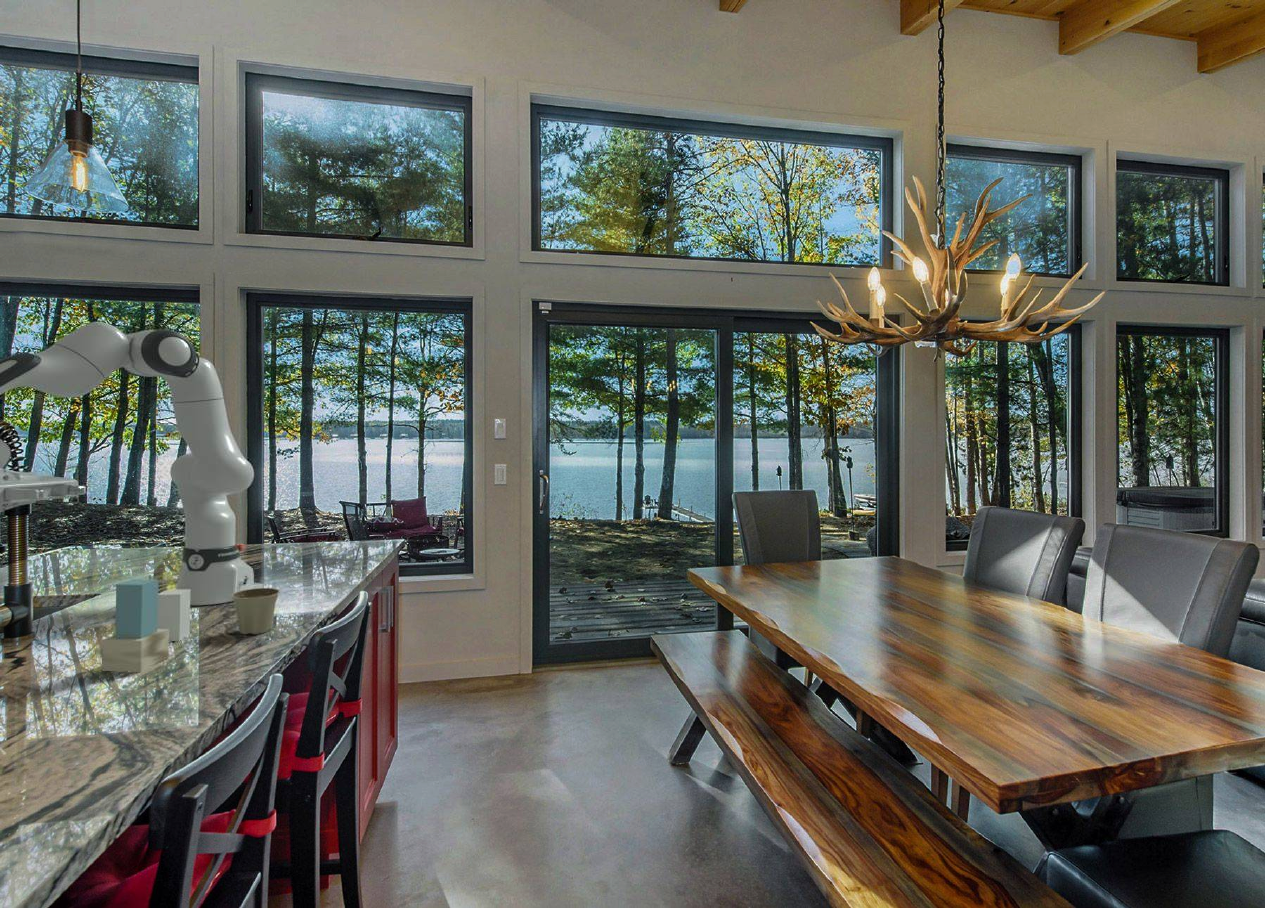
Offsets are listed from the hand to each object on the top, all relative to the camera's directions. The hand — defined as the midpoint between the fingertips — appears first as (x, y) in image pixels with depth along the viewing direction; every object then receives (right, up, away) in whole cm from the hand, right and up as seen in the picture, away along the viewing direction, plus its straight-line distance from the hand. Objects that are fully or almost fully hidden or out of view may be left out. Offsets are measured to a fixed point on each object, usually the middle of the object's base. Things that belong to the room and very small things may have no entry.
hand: (62, 492), depth 120 cm
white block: (+12, -32, +13) cm, 37 cm away
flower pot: (+25, -33, +20) cm, 46 cm away
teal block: (+17, -27, -3) cm, 32 cm away
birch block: (+16, -33, -2) cm, 37 cm away
